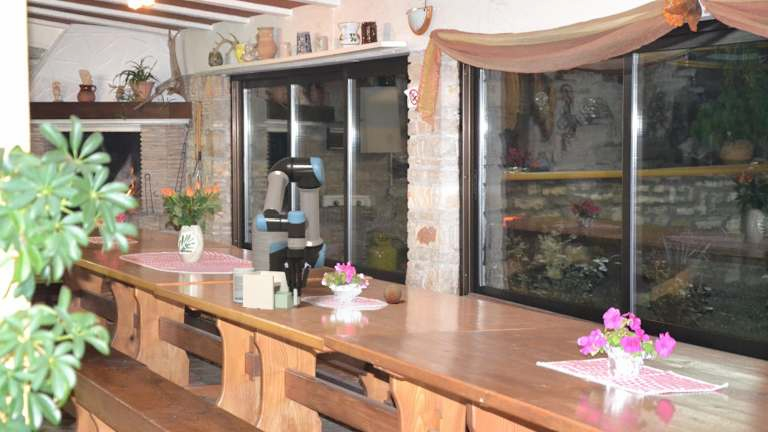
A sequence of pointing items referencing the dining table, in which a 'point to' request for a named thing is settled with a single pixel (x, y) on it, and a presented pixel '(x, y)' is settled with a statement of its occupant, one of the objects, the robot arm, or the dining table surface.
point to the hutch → (262, 288)
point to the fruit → (392, 294)
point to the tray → (283, 300)
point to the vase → (264, 246)
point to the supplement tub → (239, 283)
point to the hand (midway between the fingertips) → (296, 304)
